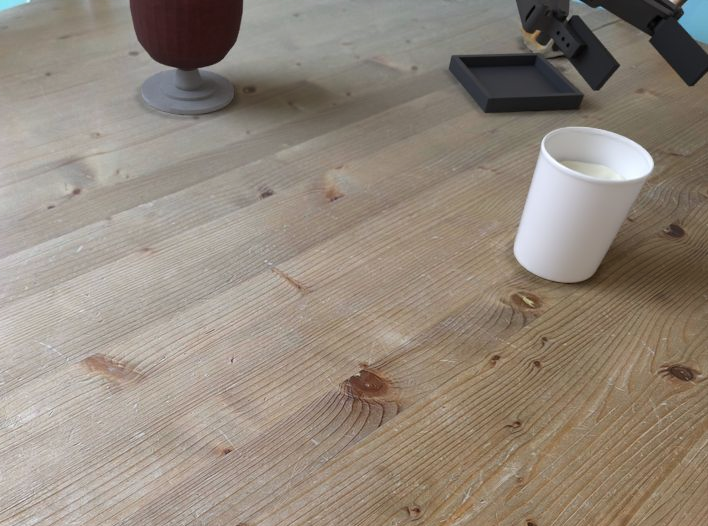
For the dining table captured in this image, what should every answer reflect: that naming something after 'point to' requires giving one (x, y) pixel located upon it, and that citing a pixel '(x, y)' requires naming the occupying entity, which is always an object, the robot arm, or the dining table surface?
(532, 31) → the robot arm
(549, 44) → the pastry
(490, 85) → the shallow tray
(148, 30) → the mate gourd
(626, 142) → the white cup
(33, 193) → the dining table surface
